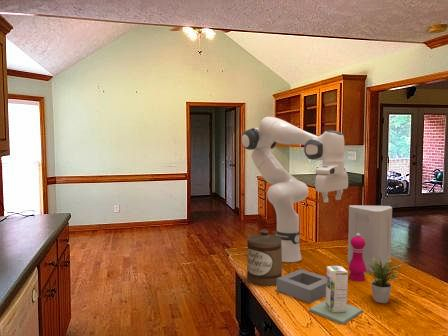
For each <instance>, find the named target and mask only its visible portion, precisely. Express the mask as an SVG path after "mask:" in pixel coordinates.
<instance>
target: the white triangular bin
mask: <svg viewBox="0 0 448 336" xmlns="http://www.w3.org/2000/svg"><path fill="white" fill-rule="evenodd" d="M392 222H393V207H392V206H391V205H357V204H356V205H351V204H350V205H349V206H348V235H347V237H348V238H347V239H348V240H347V243H348V244H347V263H348V265H349V264H350V262H351V260H352V257H353V251H352V247H353V246H352V245H351V239H352V238H353V237H356V234H357V233H359V234H360V237H362V238H363V239H364V240H365V246H364V247H363V248H364V252H363V261H364V263H365V265H366V271H367V272H370V273H373V272H374V271H373V269H372V268H371V267H370V265H369V264H368V263H370V264H371V265H372V266H373V265H374V261H373V258H375V260H376V261H377V263H378V264H379V265H380V263H379V257H380V260H381V263H382V269H383V267H384V265H385V263H386V261H387V260H388V258H389V261H390V260H392V258H391V253H392V250H391V249H392ZM366 261H367V262H368V263H367V262H366ZM389 261H388V262H389ZM374 267H375V266H374ZM374 267H373V268H374Z"/></svg>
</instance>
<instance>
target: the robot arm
mask: <svg viewBox="0 0 448 336" xmlns="http://www.w3.org/2000/svg"><path fill="white" fill-rule="evenodd" d="M240 137H241V138H240V142H241V145H242V147H243V148H244V149H245V150H248V151H249V150H250V151H251V150H252V152H251V160H252V162H253V164H254V165H255V167H256V169H257V170H258V171H259V173H260V174H261V176H262V177H263V179H264V180H265V181H266V182H267V183H268V184H270V185H271V186H269V187H268V189H267V190H266V191H267V192H266V198H267V200H268V202H269V203H271V205H272V206H273V208H274V210H275V214H276V230H273V231H272V234H273V235H275V236H278V237H280V238H281V241H282V245H281V248H282V263H296V262H299V261H301V260H303V257H302V253H301V247H300V240H301V239H300V237H301V236H300V234H301V233H300V216H299V214H298V213H297V212H296V211H295V209H294V204H296V203H300V202H301V201H304V200H305V199H307V197H308V195H309V187H308V185H307V184H306V183H305V182H303V181H300V180H299V179H297V178H296V177H295V176H293V175H292V174H291V173H290V172H289V171H287V170H286V169H285V168H284V167H283V166H282V164H281V163H280V162H279V161H278V159H277V158H276V157H275V156H274V154H273V153H272V149H274V148H275V147H276V145H277V144H282V145H302V146H304V147H303V152H304V155H305V157H306V158H307V160H308V159H309V160H311V161H322V164H321V165H319V166H318V167H317V168H315V174H316V176H315V191H316V192H317V193H321V196H322V199H323V201H322V202H323V203H329V202H330V198H329V197H328V194H329V192H335V191H336V195H335V200H337V201H340V200H342V199H341V198H342V195H343V192H344V190H347V189H348V187H349V176H348V173H347V169H346V168H345V159H344V154H345V137H344V134H343V133H342V132H340V131H337V130H332V129H331V130H325V131H324V132H323V133H322V134H320V135H316V134H314V133H311V132H308V131H305V130H303V129H302V128H299V127H297V126H296V125H294V124H291V123H289V122H288V121H286V120H285V119H284V120H283V119H281V118H280V117H279V118H278V117H274V116H266V117H264V118H263V119H262V120H261V121H260V123H259V126H258V127H252V128H250V129H247V130H245V131H243V132H242V134H241V136H240Z"/></svg>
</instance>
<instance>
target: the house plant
mask: <svg viewBox="0 0 448 336" xmlns="http://www.w3.org/2000/svg"><path fill="white" fill-rule="evenodd" d="M373 261H374V265H373V266H372V265H371V264H370V263H368V262H367V261H366V262H367V263H368V264H369V265H370V267H371V268H372V269H373V271H374V272H371V271H366V272H364V274H367V275H370V276H372V277H373V278H374V280H373V281H371V282H370V284H371V291H372V297H373V298H372V299H373V301H374V302H377V303H380V304H387V303H388V302H389V300H390V294H391V290H392V286H393V285H392V284H391V283H389V282H391V281H392V280H394V281H395V282H398V280H397V279H396V278H397V277H398V276H397V275H399V274H400V273H399V272H397V273H393V271H394V270H400V269H402V268H401V264H398V265H394V266H393V267H391V262H392V261H393V259H391V260H390V261H389V258H388V260H387V261H386V263H385V265H384V267H383V269H382V263H381V260H380V257H379V263H380V265H379V264H378V263H377V261H376V260H375V258H373ZM388 261H389V262H388ZM374 266H375V267H374ZM373 267H374V268H373Z"/></svg>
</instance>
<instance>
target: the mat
mask: <svg viewBox="0 0 448 336" xmlns="http://www.w3.org/2000/svg"><path fill="white" fill-rule="evenodd" d="M308 310H309V312H310V313H312V314H315V315H318V316H319V317H320V316H321V317H323V318H325V319H328V320H329V321H333V322H335V323H338V324H340V325H342V326H343V325H344V324H346V323H348V322H349V321H351V320H353V319H355V318H356V317H359V315H361V314H362V313H363V311H364V310H363V308H362V309H361V308H359V307H356V306H354V305H351V304H348V303H347V312H331V311H330V310H329V309H328V308H327V307H326V299H325V300H323V301H321V302H320V303H318V304H315V305H314V306H311V307H310V308H309V309H308Z"/></svg>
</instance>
